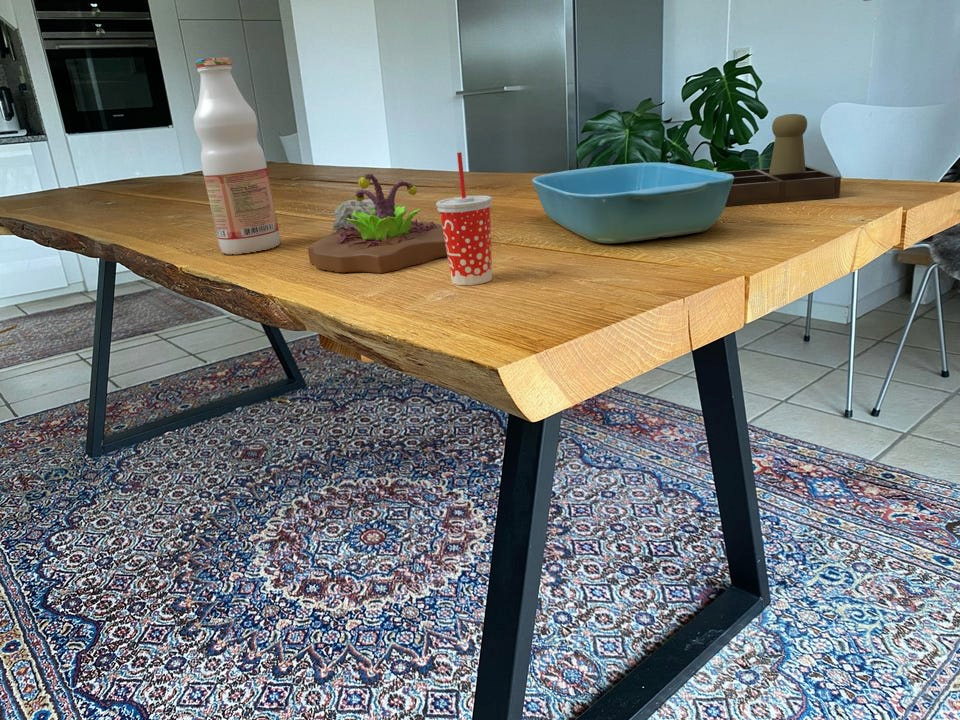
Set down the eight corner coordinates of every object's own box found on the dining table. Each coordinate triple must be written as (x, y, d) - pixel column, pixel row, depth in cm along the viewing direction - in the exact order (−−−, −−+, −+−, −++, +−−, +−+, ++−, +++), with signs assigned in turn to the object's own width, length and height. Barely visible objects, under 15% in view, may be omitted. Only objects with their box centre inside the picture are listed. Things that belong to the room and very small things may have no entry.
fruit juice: (208, 256, 114) (164, 62, 104) (241, 243, 122) (203, 62, 112) (262, 254, 111) (222, 54, 101) (292, 241, 119) (258, 56, 110)
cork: (762, 183, 124) (764, 115, 121) (798, 180, 124) (802, 111, 120) (774, 188, 119) (777, 116, 115) (812, 184, 118) (816, 113, 114)
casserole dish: (522, 215, 122) (519, 171, 119) (651, 200, 124) (650, 156, 122) (586, 259, 87) (584, 198, 85) (763, 236, 90) (765, 177, 88)
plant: (283, 267, 100) (267, 183, 96) (383, 238, 114) (373, 164, 110) (388, 278, 88) (375, 183, 84) (486, 243, 102) (479, 161, 98)
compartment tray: (806, 183, 125) (807, 165, 124) (839, 197, 110) (841, 176, 109) (706, 191, 127) (706, 173, 126) (725, 206, 112) (725, 185, 111)
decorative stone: (321, 229, 129) (316, 200, 127) (379, 219, 133) (375, 191, 131) (342, 237, 118) (337, 206, 117) (404, 226, 123) (400, 196, 121)
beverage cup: (444, 276, 86) (430, 153, 81) (496, 270, 86) (485, 147, 82) (445, 289, 80) (430, 157, 76) (501, 283, 81) (490, 151, 76)
